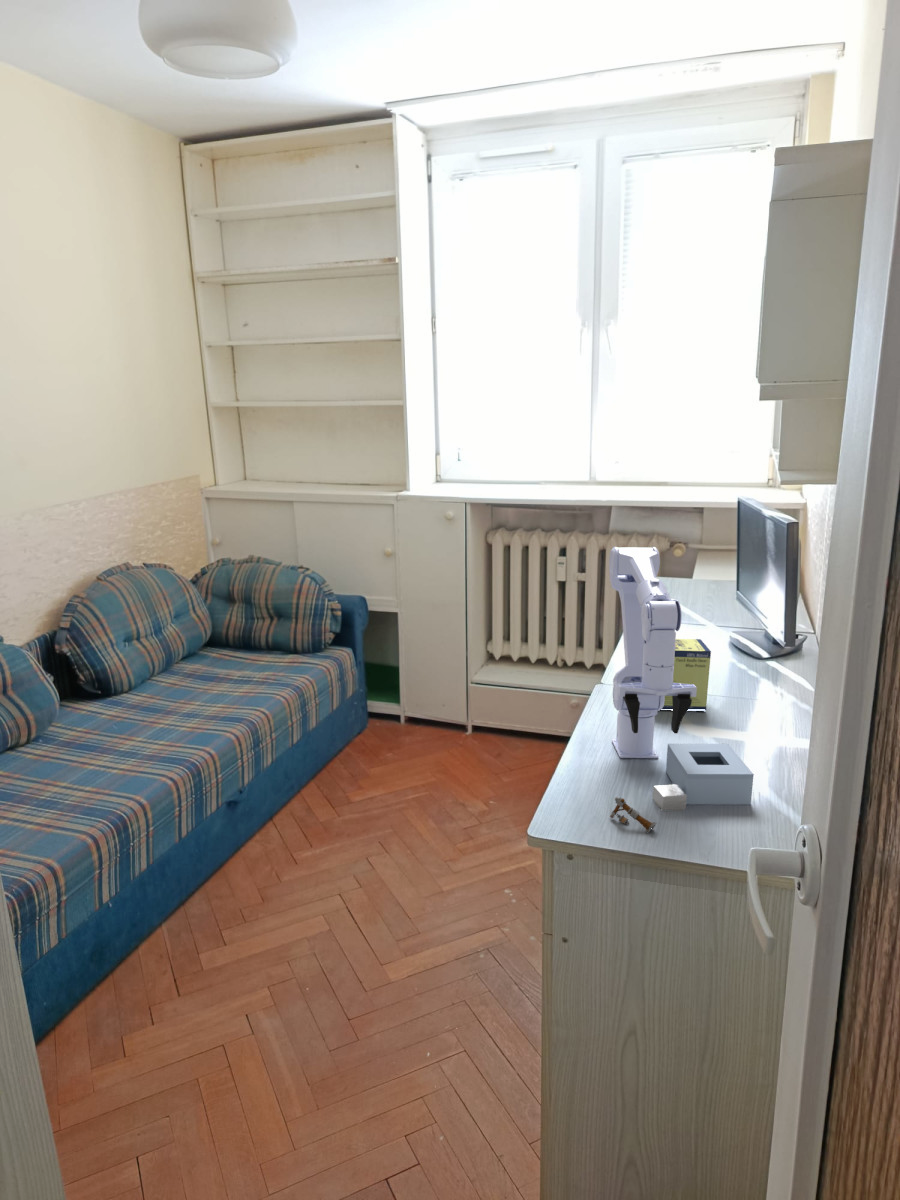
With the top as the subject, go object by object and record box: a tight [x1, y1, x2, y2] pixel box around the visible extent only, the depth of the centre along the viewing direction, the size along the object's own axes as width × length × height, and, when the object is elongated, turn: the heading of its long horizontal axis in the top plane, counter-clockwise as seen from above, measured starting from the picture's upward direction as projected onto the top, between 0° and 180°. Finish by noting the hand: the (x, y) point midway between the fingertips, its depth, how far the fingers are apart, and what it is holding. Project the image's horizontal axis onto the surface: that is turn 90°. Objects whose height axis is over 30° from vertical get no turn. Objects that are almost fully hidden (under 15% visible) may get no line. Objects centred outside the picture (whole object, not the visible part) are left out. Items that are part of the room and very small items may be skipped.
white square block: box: [652, 783, 687, 811], centre depth 149 cm, size 4×4×3 cm
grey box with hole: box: [665, 743, 755, 806], centre depth 156 cm, size 14×12×6 cm
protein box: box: [662, 638, 712, 710], centre depth 200 cm, size 10×16×16 cm
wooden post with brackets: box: [609, 796, 657, 834], centre depth 142 cm, size 2×8×4 cm, turn 52°
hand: (654, 731), depth 157 cm, fingers open, 7 cm apart
